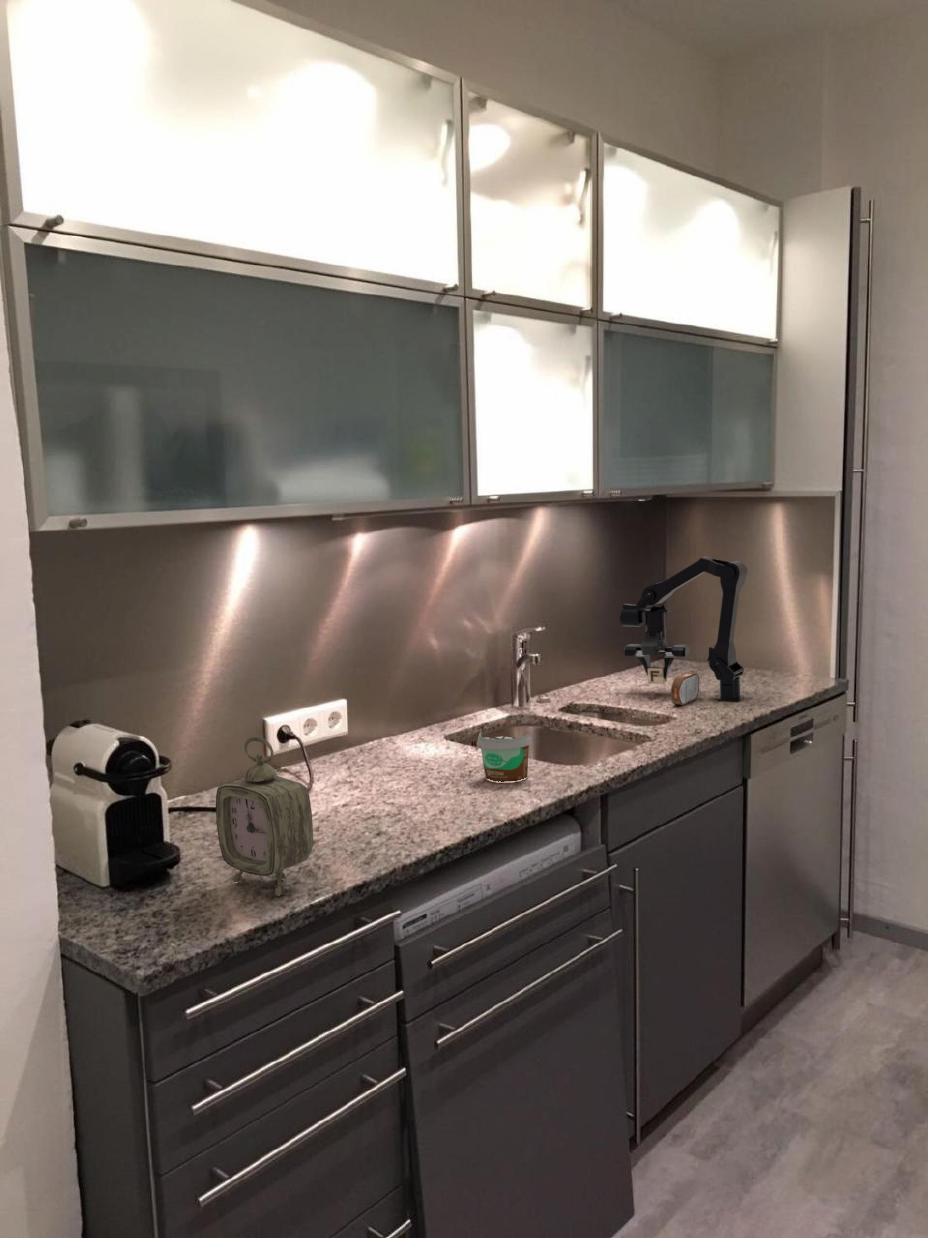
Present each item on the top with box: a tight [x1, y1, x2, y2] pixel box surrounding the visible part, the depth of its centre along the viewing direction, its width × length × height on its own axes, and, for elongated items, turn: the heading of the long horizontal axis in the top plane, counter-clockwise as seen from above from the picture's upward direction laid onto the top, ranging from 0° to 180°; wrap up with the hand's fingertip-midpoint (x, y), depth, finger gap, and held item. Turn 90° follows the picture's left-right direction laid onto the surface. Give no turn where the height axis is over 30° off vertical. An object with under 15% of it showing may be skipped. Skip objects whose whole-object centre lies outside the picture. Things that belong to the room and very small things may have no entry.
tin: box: [670, 671, 700, 706], centre depth 290 cm, size 15×3×8 cm, turn 144°
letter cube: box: [647, 665, 668, 685], centre depth 303 cm, size 5×4×5 cm
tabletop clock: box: [215, 736, 314, 896], centre depth 166 cm, size 14×9×25 cm, turn 51°
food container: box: [476, 732, 533, 782], centre depth 220 cm, size 12×6×10 cm, turn 68°
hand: (657, 678), depth 304 cm, fingers closed on letter cube, 4 cm apart
